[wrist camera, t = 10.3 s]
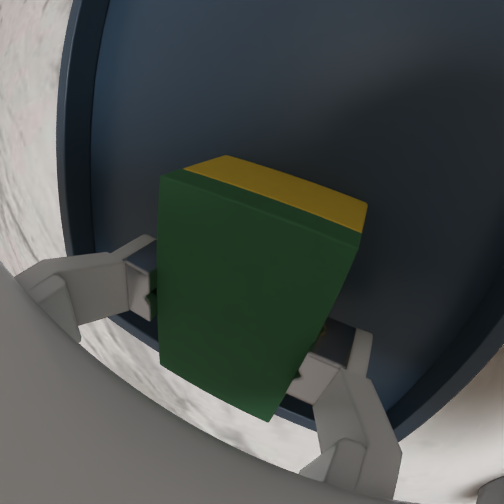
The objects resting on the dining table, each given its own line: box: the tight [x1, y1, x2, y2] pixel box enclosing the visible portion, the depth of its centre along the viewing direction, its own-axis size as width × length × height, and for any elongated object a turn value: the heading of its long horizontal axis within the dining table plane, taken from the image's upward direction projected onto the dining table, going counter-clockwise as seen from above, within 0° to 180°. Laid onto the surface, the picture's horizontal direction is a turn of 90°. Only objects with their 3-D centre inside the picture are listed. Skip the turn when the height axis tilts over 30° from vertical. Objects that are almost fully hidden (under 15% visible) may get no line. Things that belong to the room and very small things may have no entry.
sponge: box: [157, 155, 368, 422], centre depth 9 cm, size 7×4×3 cm, turn 168°
